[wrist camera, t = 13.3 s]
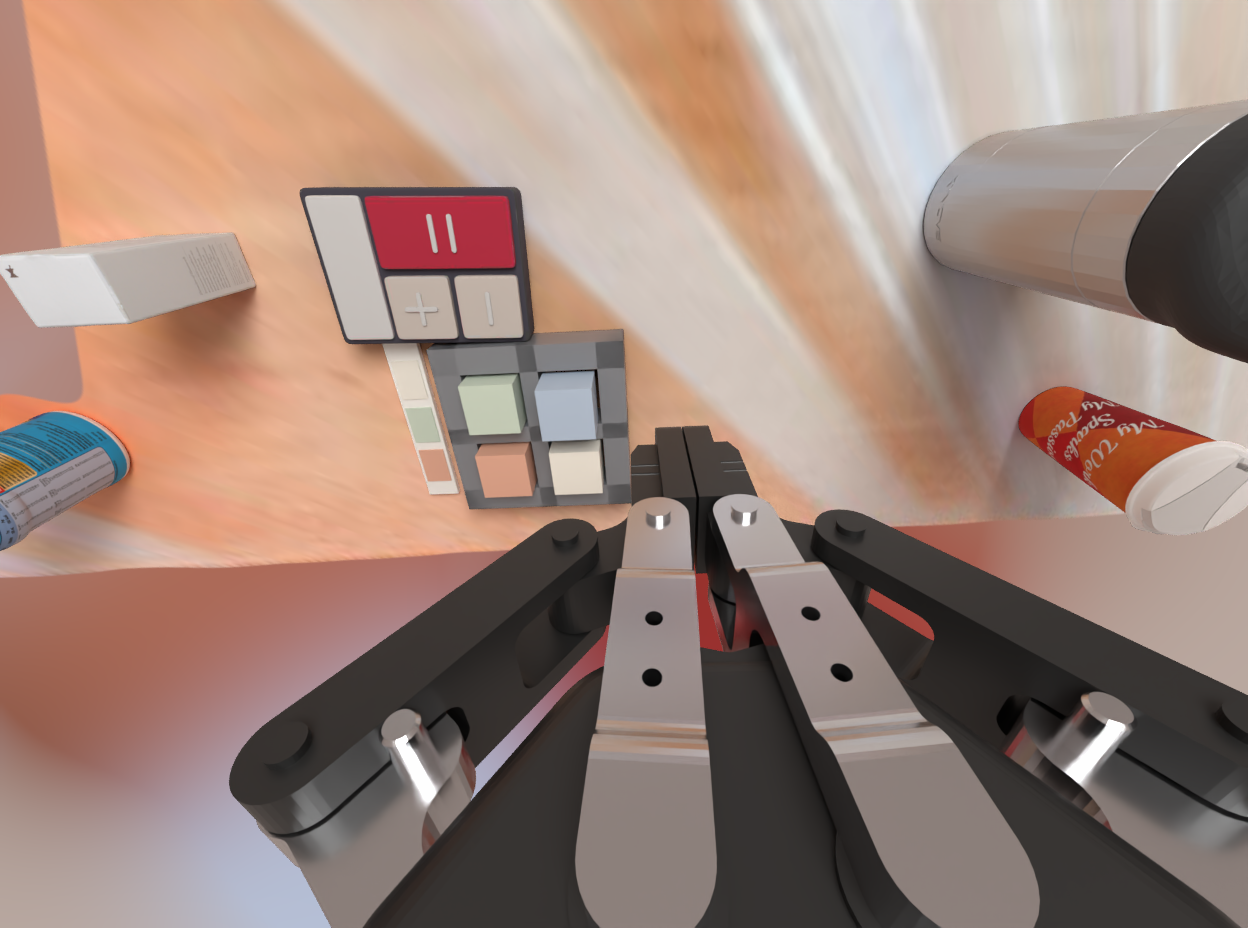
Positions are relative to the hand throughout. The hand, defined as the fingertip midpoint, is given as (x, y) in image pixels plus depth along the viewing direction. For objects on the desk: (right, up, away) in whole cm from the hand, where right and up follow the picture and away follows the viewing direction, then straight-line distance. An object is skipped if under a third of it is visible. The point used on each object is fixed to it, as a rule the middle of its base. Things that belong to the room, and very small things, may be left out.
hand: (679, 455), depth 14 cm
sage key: (-13, +6, +29) cm, 32 cm away
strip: (-21, +4, +32) cm, 38 cm away
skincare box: (-35, +16, +25) cm, 46 cm away
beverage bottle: (-55, +2, +33) cm, 64 cm away
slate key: (-6, +6, +27) cm, 28 cm away
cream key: (-6, +1, +32) cm, 32 cm away
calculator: (-17, +16, +25) cm, 34 cm away
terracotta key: (-12, +1, +32) cm, 34 cm away
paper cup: (+39, +5, +31) cm, 50 cm away
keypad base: (-9, +4, +31) cm, 33 cm away
